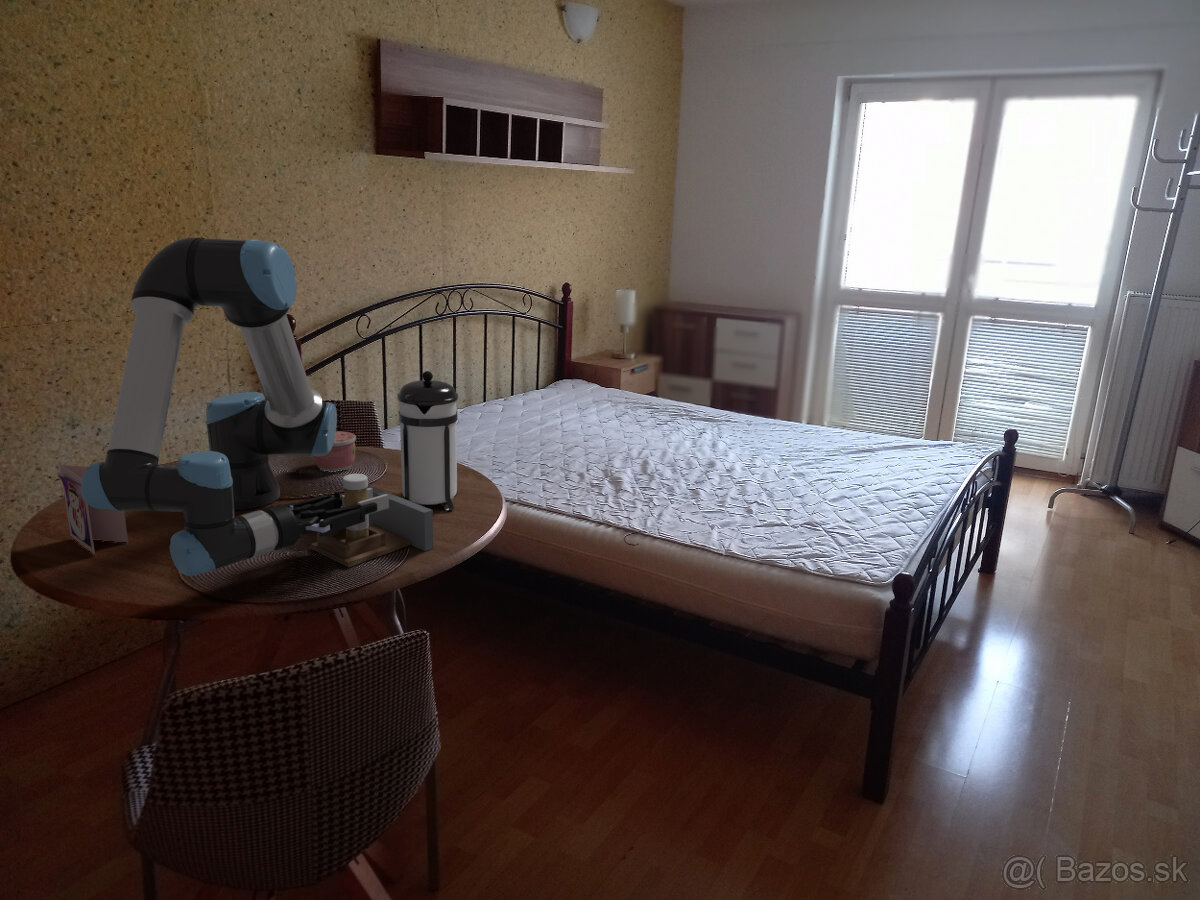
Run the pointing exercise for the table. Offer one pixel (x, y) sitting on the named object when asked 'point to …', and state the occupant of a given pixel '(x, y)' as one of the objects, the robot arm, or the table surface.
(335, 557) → the socket block
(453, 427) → the coffee press
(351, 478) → the sprinkles bottle
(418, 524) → the backstop wall
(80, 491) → the greeting card
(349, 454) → the container
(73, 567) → the table surface
